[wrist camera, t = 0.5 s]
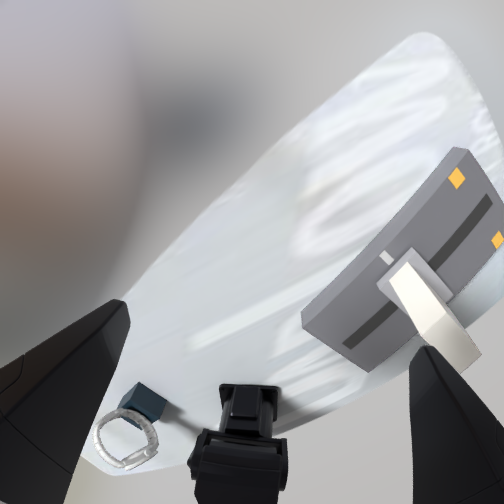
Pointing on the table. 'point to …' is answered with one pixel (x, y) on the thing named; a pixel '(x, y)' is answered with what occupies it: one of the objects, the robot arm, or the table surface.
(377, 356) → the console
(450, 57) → the table surface
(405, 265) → the fader
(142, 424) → the watch
